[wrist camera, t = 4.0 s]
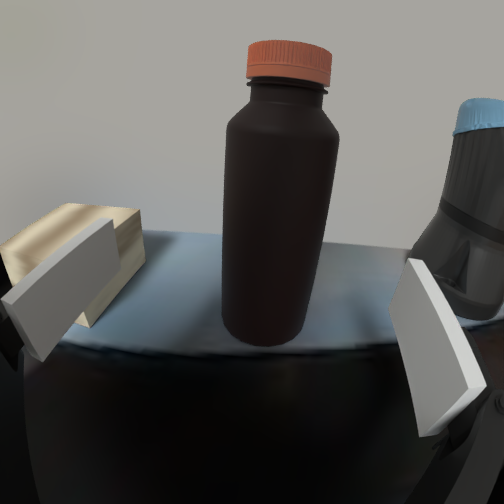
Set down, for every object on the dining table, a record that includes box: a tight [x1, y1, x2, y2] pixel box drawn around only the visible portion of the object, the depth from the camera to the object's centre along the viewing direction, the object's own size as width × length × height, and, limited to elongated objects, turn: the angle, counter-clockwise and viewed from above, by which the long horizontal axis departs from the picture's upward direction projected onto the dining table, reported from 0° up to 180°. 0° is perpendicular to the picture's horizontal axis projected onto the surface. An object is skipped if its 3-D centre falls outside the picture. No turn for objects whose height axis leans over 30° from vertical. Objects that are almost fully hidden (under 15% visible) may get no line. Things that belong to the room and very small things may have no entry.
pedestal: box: [0, 203, 146, 328], centre depth 24 cm, size 11×11×6 cm
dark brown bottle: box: [222, 40, 339, 347], centre depth 18 cm, size 7×7×20 cm
